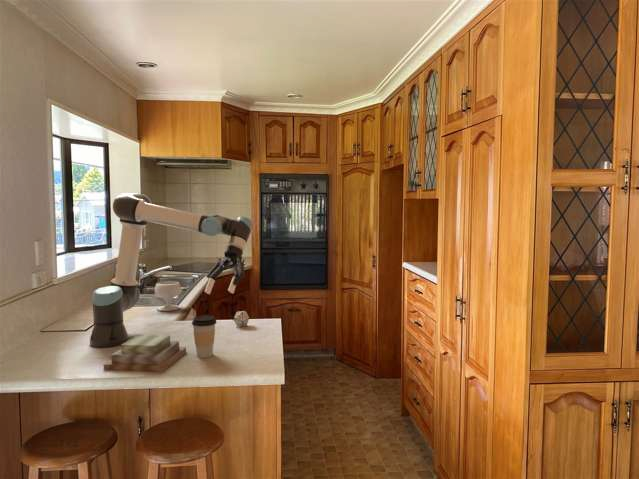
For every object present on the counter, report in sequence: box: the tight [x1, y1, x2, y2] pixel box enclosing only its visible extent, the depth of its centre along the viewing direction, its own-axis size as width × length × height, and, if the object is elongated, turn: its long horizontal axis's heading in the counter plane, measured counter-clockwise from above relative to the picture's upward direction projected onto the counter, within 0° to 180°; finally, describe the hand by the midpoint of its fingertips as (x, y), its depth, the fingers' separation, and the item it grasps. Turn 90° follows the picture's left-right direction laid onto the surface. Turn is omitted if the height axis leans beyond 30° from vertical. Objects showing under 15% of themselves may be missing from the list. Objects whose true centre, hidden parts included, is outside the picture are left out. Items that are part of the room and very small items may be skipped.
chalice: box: [154, 280, 182, 312], centre depth 260 cm, size 14×14×15 cm
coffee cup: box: [191, 315, 217, 359], centre depth 183 cm, size 9×9×15 cm
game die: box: [232, 309, 252, 328], centre depth 224 cm, size 9×8×10 cm
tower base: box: [103, 334, 187, 373], centre depth 177 cm, size 22×22×8 cm
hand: (218, 292), depth 193 cm, fingers open, 13 cm apart
